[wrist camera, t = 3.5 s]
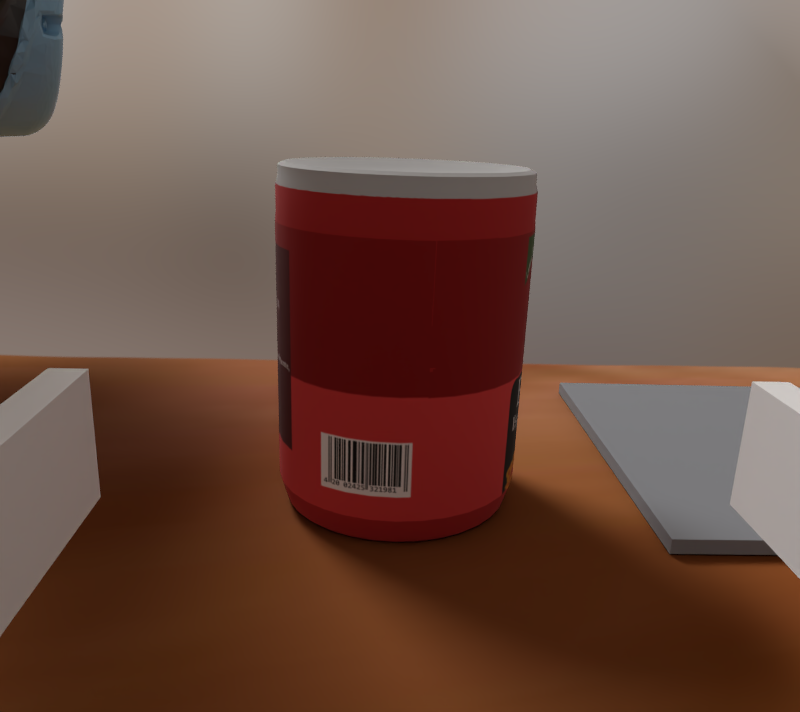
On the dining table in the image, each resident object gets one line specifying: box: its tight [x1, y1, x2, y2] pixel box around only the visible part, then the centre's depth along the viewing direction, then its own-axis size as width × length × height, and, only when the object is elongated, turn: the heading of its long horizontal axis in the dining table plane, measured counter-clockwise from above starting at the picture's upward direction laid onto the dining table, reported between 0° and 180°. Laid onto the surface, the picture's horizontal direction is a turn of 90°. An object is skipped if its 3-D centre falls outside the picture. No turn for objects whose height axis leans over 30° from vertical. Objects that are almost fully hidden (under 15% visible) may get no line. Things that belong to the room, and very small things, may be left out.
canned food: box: [275, 157, 538, 542], centre depth 24 cm, size 8×8×11 cm
